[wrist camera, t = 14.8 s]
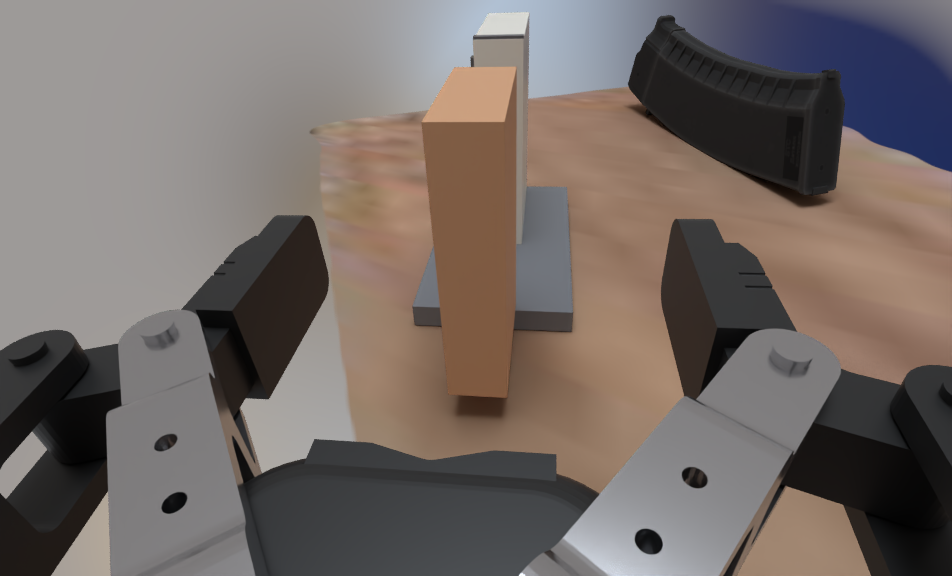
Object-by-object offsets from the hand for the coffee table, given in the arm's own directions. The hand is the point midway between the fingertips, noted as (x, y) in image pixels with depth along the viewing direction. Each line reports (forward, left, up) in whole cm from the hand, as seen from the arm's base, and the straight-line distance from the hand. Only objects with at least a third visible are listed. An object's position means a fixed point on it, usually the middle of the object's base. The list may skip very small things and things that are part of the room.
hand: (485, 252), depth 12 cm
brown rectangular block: (+2, -13, -14) cm, 19 cm away
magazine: (-18, -48, -16) cm, 54 cm away
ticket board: (+2, -25, -16) cm, 30 cm away
